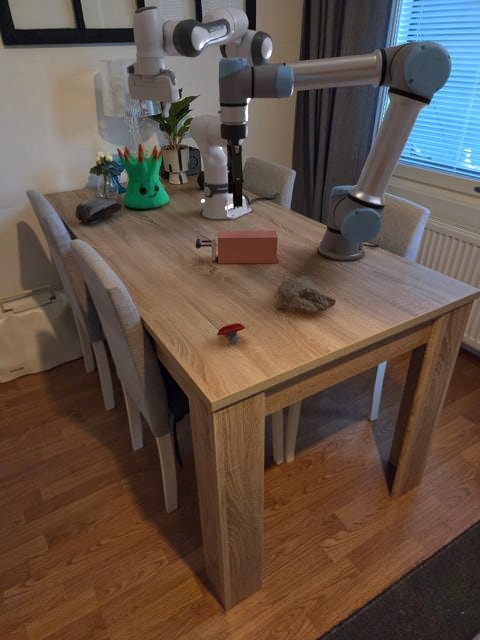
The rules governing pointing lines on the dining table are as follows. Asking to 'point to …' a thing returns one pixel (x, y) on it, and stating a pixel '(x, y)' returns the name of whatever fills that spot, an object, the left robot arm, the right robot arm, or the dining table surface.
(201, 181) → the toy
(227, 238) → the cabinet
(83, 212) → the rock
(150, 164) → the toy
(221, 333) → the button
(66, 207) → the dining table surface
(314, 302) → the artifact
